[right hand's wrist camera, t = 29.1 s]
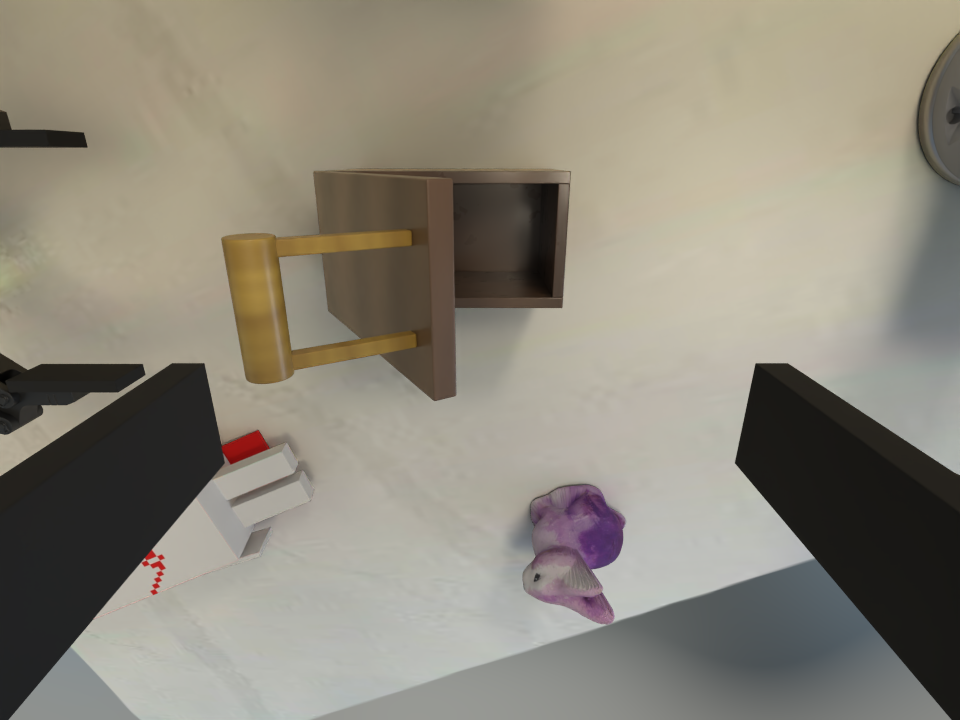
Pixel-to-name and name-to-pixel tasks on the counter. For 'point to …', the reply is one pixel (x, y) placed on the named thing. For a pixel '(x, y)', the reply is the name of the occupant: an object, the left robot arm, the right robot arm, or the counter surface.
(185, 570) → the toy
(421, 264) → the lid
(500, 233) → the chest
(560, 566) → the figurine
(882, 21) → the counter surface
